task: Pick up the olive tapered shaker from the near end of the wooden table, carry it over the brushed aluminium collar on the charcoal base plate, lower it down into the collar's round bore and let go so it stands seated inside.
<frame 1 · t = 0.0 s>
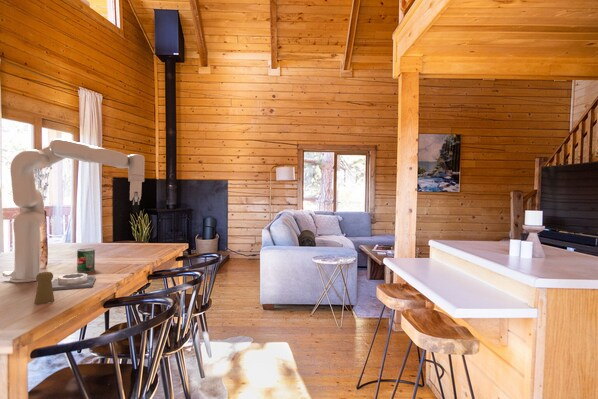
hand: (135, 212, 182), 31 cm above the table, tool pointing down, fingers open, 9 cm apart
olive tapered shaker: (44, 302, 133), on the table
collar: (73, 284, 158), on the table
canned tomato: (85, 271, 184), on the table
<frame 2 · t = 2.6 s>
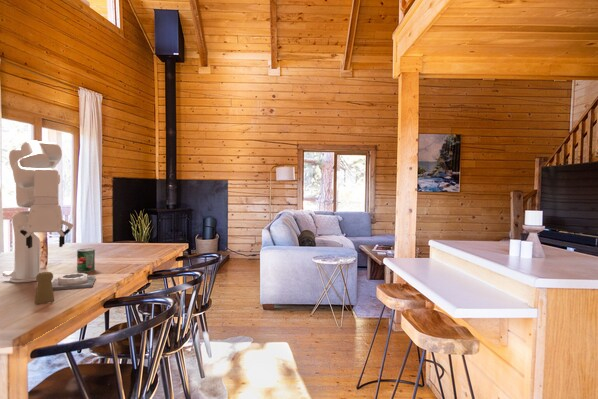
hand: (45, 247, 133), 20 cm above the table, tool pointing down, fingers open, 9 cm apart
nothing on the table moved.
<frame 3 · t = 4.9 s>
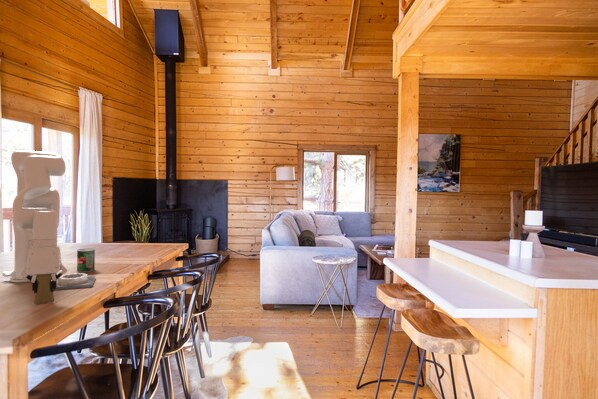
hand: (44, 291, 133), 4 cm above the table, tool pointing down, fingers closed on olive tapered shaker, 4 cm apart
olive tapered shaker: (44, 301, 133), on the table, touching gripper
everything else where it was.
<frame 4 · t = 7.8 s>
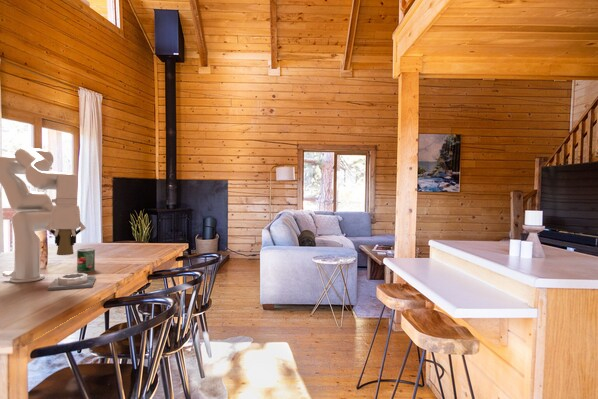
hand: (65, 244, 150), 19 cm above the table, tool pointing down, fingers closed on olive tapered shaker, 4 cm apart
olive tapered shaker: (65, 254, 151), point 15 cm above the table, touching gripper
everything else where it was.
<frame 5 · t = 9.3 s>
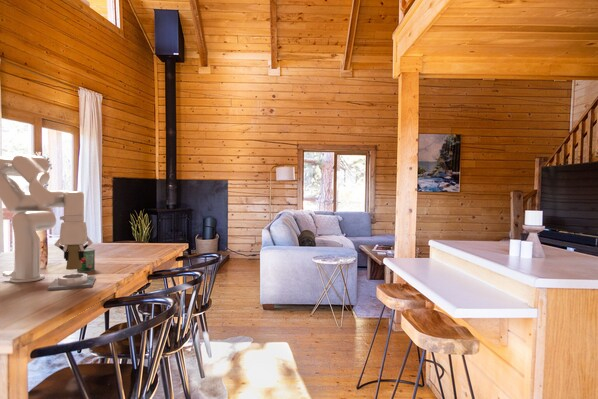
hand: (73, 259, 157), 11 cm above the table, tool pointing down, fingers closed on olive tapered shaker, 4 cm apart
olive tapered shaker: (74, 268, 157), point 7 cm above the table, touching gripper
everything else where it was.
when the fingers open (6 cm above the table, at t = 10.7 s): olive tapered shaker stays where it is, resting on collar.
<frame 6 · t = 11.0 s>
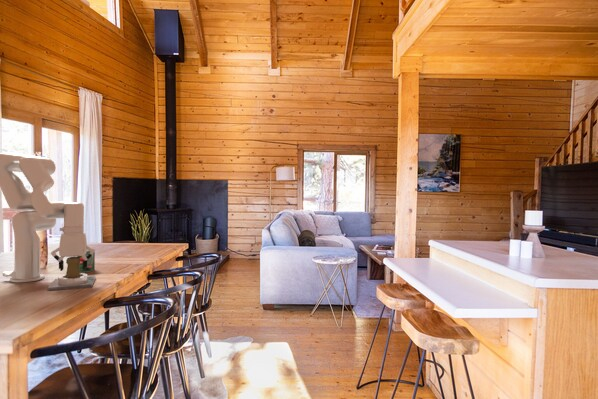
hand: (73, 269, 157), 7 cm above the table, tool pointing down, fingers open, 8 cm apart
olive tapered shaker: (72, 282, 158), point 1 cm above the table, touching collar
everything else where it was.
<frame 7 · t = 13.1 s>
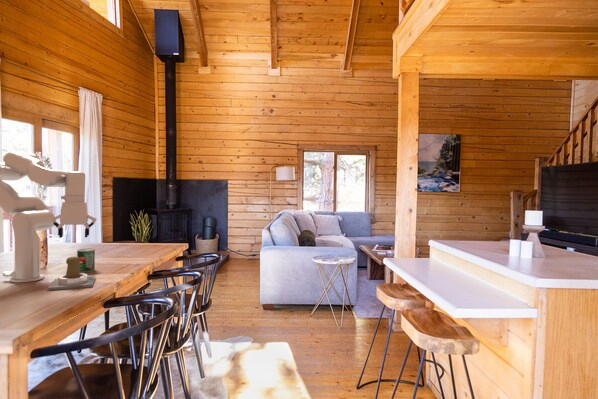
hand: (73, 237, 159), 21 cm above the table, tool pointing down, fingers open, 9 cm apart
nothing on the table moved.
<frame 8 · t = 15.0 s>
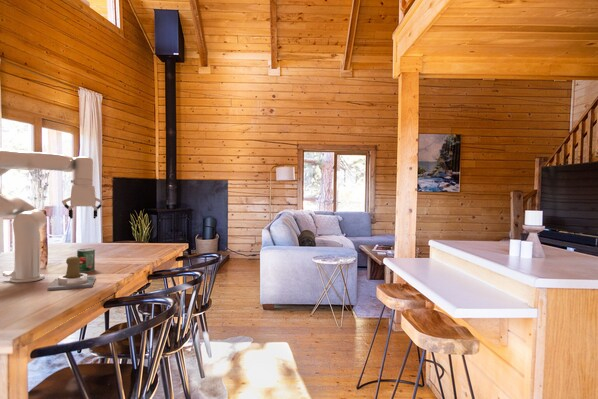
hand: (83, 218, 171), 28 cm above the table, tool pointing down, fingers open, 9 cm apart
nothing on the table moved.
at the end: olive tapered shaker 0.1 cm off-centre on the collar, point 1.0 cm above the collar's base; olive tapered shaker tilted 0°; the gripper is holding nothing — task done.
